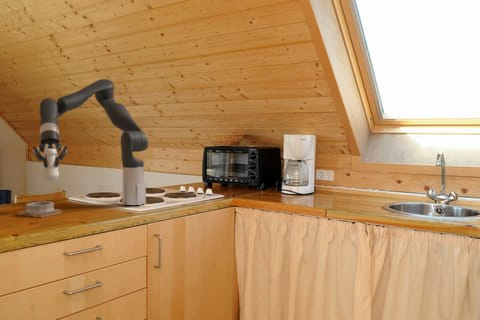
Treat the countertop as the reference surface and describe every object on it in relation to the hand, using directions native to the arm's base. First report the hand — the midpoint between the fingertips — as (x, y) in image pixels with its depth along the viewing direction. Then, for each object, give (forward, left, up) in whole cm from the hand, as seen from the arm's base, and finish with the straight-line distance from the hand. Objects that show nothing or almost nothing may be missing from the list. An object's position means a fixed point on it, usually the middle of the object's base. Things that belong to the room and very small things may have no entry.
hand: (51, 166), depth 161 cm
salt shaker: (+2, -1, -6) cm, 7 cm away
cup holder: (+2, +4, -19) cm, 19 cm away
